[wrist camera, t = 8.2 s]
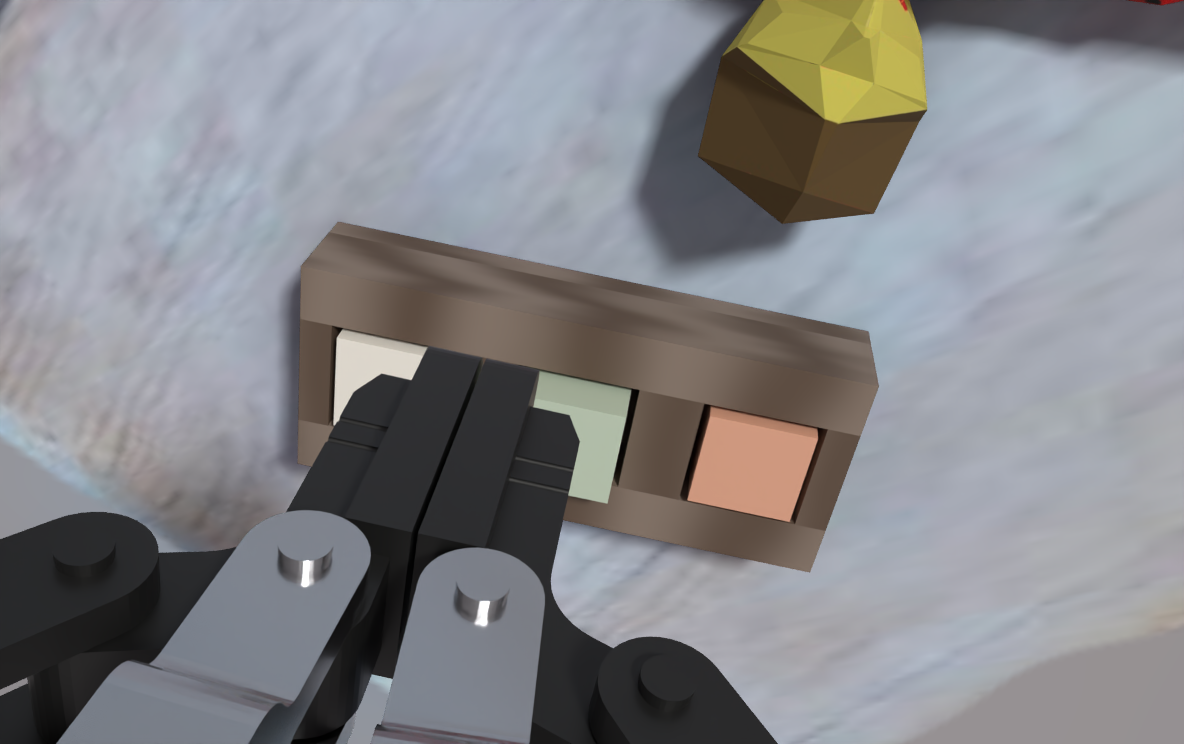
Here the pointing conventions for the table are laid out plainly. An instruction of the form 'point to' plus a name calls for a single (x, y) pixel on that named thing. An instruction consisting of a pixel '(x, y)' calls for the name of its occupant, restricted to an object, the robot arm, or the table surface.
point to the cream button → (370, 362)
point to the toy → (818, 105)
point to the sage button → (588, 427)
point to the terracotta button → (749, 462)
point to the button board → (605, 372)
